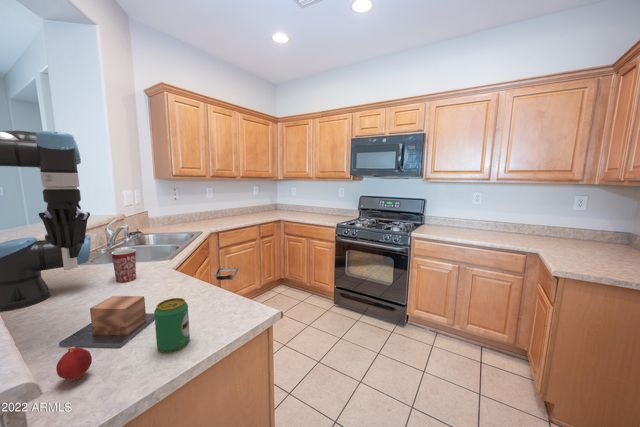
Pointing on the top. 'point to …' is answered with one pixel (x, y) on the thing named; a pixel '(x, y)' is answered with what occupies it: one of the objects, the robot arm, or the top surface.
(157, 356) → the top surface
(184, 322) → the beverage can
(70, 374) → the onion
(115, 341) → the boss plate
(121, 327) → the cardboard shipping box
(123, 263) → the red patterned paper cup
